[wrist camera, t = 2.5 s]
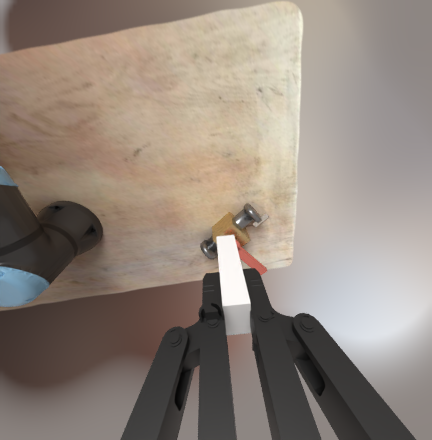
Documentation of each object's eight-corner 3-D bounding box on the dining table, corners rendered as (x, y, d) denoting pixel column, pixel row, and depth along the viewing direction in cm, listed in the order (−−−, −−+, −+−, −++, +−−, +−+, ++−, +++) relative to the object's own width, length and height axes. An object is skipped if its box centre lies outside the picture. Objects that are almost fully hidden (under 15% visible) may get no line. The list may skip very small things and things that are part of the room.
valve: (220, 254, 60) (222, 274, 52) (199, 238, 56) (198, 257, 49) (268, 216, 54) (279, 232, 46) (248, 195, 50) (256, 208, 43)
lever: (222, 245, 47) (223, 248, 46) (233, 236, 46) (233, 239, 45) (257, 273, 52) (258, 276, 51) (267, 266, 51) (269, 269, 50)
